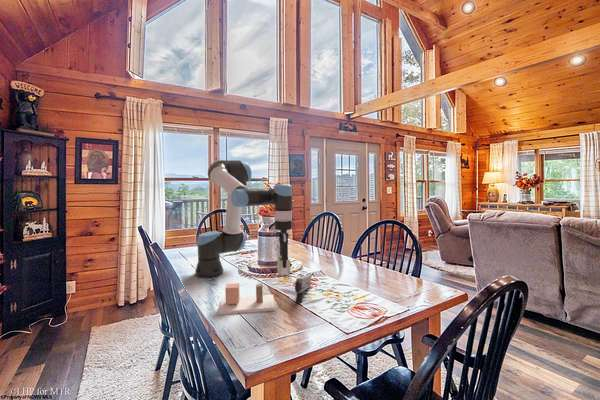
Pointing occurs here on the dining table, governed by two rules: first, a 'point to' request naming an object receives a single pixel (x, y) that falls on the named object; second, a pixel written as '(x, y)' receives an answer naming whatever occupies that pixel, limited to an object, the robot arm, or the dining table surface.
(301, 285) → the grey curved bar
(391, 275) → the dining table surface
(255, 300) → the stand
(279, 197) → the robot arm
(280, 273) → the pale green block
